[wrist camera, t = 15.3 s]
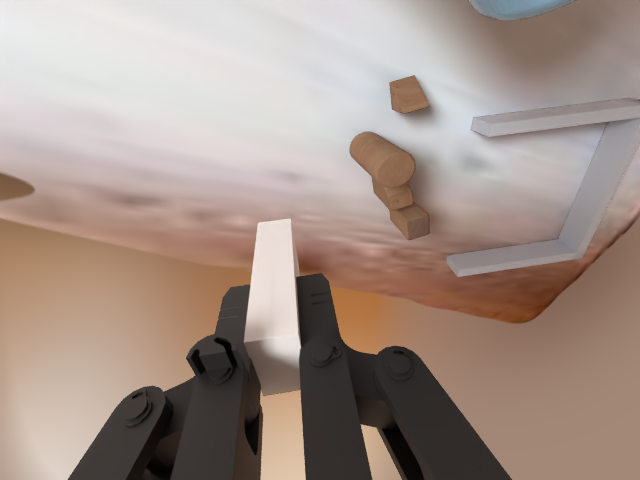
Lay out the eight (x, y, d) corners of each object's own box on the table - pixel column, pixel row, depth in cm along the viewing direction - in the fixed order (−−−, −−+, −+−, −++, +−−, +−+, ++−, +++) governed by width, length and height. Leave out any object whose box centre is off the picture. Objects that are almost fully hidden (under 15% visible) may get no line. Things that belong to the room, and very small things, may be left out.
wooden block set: (416, 206, 45) (454, 240, 36) (362, 222, 44) (387, 261, 36) (407, 74, 35) (458, 78, 26) (338, 94, 35) (366, 105, 26)
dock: (473, 117, 38) (491, 124, 35) (628, 97, 39) (660, 102, 36) (446, 262, 52) (457, 276, 48) (562, 244, 53) (581, 258, 49)
